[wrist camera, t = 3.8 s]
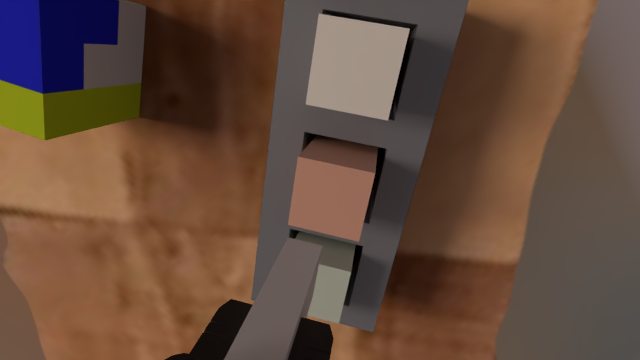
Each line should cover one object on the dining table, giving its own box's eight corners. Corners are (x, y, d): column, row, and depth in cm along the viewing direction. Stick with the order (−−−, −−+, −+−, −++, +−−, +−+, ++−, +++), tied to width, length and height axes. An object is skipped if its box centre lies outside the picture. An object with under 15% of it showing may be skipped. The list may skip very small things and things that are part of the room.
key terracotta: (320, 131, 28) (297, 156, 21) (378, 143, 27) (375, 173, 20) (310, 185, 30) (287, 224, 23) (365, 197, 29) (359, 241, 22)
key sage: (308, 212, 32) (286, 256, 25) (359, 224, 31) (351, 272, 24) (301, 255, 34) (278, 307, 27) (349, 267, 33) (338, 323, 26)
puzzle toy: (146, 6, 30) (38, -17, 20) (139, 116, 33) (44, 140, 24) (44, -25, 30) (-106, -60, 21) (48, 87, 34) (-78, 99, 25)
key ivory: (337, 25, 25) (318, 13, 18) (403, 36, 24) (409, 28, 18) (326, 91, 27) (305, 104, 20) (387, 103, 26) (387, 120, 19)
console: (309, -15, 27) (288, -34, 21) (452, 7, 25) (470, -6, 20) (272, 262, 36) (251, 299, 31) (375, 288, 35) (373, 332, 29)
